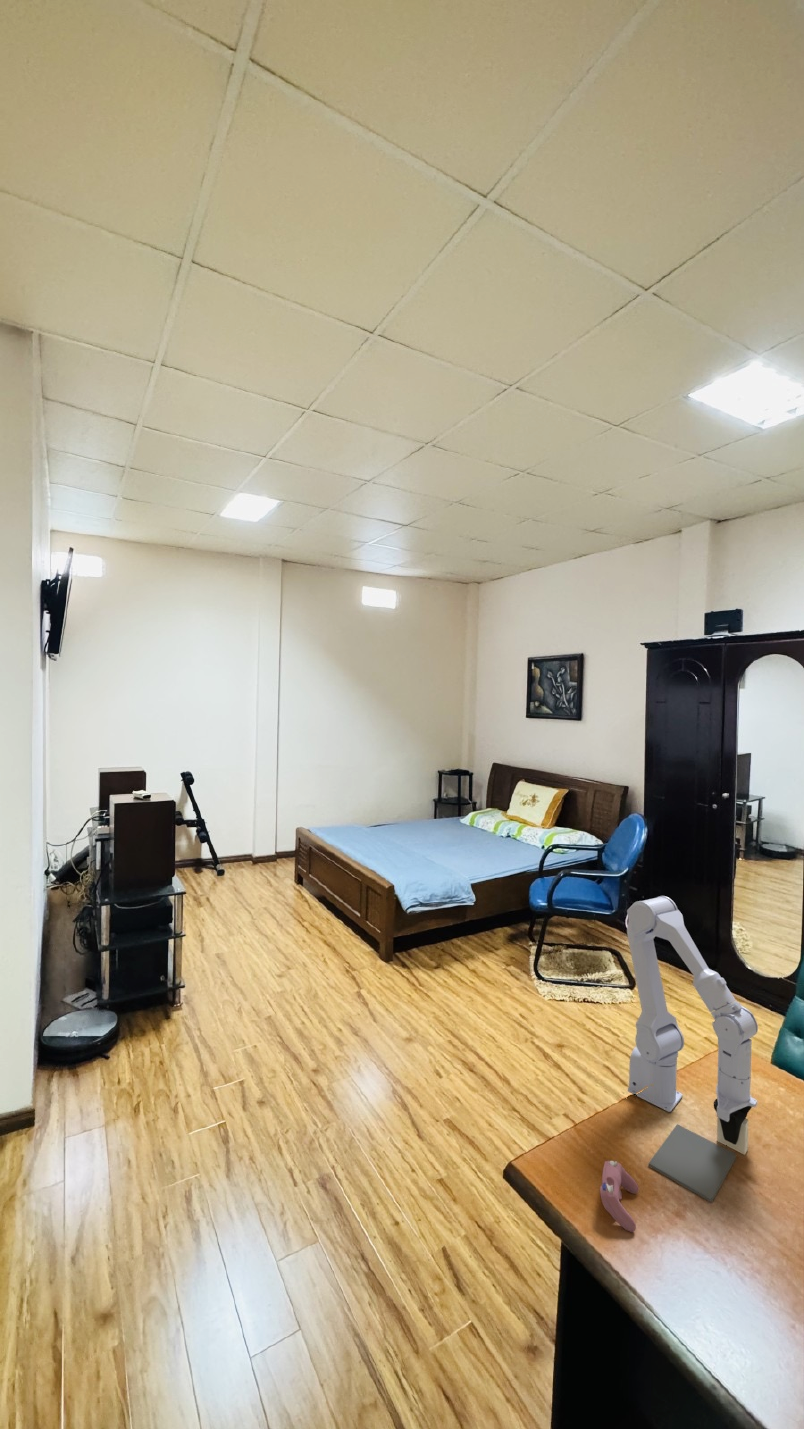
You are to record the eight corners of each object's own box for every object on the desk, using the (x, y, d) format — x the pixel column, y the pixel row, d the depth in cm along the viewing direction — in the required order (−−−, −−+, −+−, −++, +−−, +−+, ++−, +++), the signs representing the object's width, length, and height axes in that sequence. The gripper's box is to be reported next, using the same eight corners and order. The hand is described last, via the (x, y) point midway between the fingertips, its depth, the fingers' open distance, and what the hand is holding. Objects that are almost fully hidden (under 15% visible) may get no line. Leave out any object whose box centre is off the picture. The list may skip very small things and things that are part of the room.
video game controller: (616, 1192, 103) (599, 1151, 104) (641, 1189, 101) (623, 1148, 102) (611, 1236, 94) (592, 1192, 95) (637, 1235, 92) (618, 1189, 93)
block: (716, 1140, 114) (717, 1111, 114) (719, 1135, 115) (720, 1106, 115) (744, 1154, 110) (745, 1124, 110) (747, 1149, 112) (748, 1119, 112)
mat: (648, 1166, 107) (648, 1162, 107) (677, 1126, 117) (677, 1123, 117) (711, 1202, 99) (711, 1199, 99) (736, 1157, 110) (736, 1154, 110)
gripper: (746, 1097, 105) (744, 1169, 105) (766, 1064, 115) (764, 1130, 115) (705, 1079, 110) (704, 1148, 110) (727, 1049, 120) (726, 1112, 120)
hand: (732, 1137), depth 113 cm, fingers closed on block, 2 cm apart
